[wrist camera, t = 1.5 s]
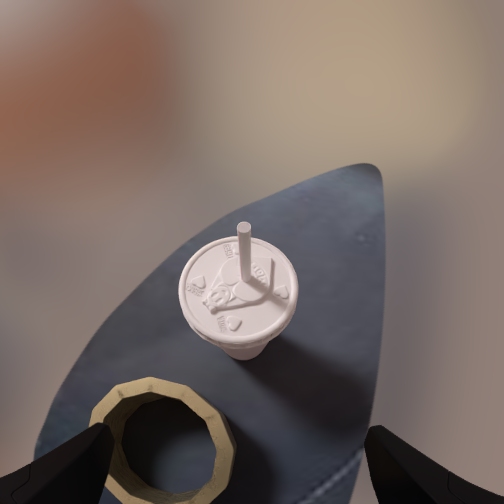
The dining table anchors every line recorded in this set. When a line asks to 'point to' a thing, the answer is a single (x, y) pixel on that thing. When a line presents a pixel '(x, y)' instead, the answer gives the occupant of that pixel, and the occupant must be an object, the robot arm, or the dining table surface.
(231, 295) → the smoothie
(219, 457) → the collar
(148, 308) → the dining table surface
